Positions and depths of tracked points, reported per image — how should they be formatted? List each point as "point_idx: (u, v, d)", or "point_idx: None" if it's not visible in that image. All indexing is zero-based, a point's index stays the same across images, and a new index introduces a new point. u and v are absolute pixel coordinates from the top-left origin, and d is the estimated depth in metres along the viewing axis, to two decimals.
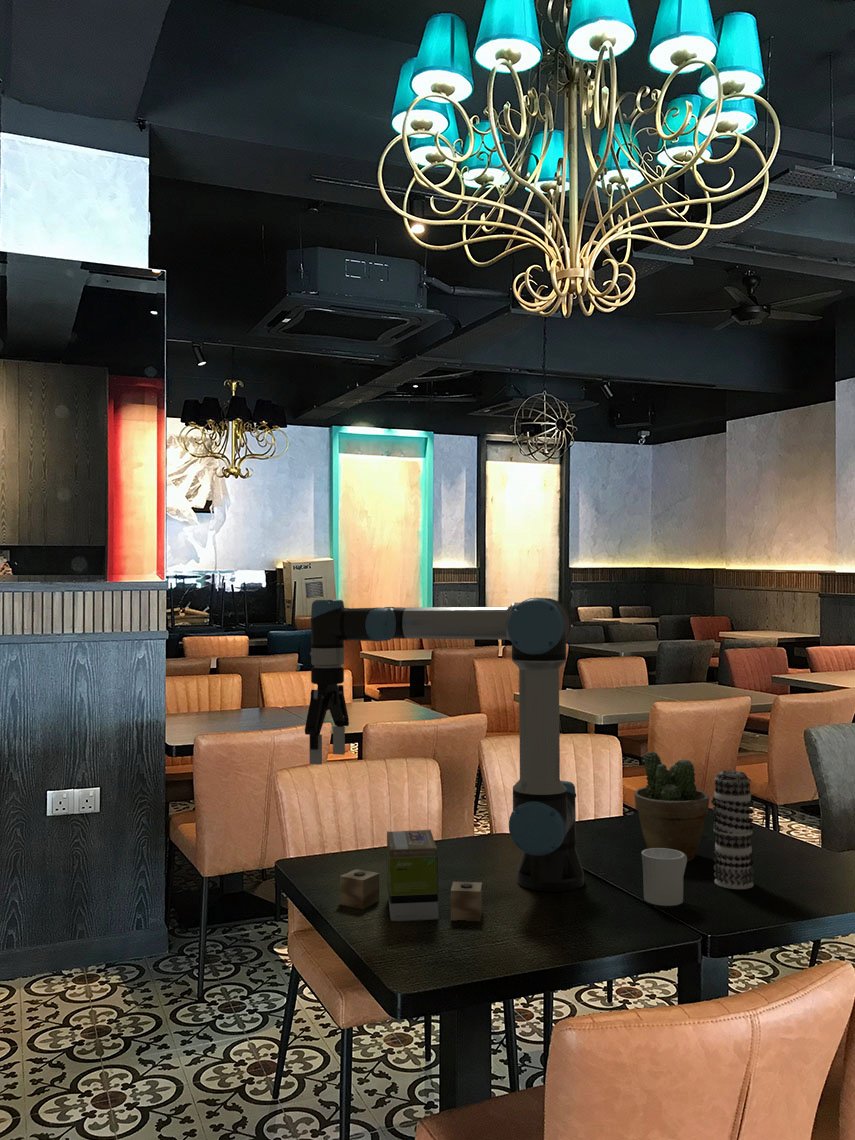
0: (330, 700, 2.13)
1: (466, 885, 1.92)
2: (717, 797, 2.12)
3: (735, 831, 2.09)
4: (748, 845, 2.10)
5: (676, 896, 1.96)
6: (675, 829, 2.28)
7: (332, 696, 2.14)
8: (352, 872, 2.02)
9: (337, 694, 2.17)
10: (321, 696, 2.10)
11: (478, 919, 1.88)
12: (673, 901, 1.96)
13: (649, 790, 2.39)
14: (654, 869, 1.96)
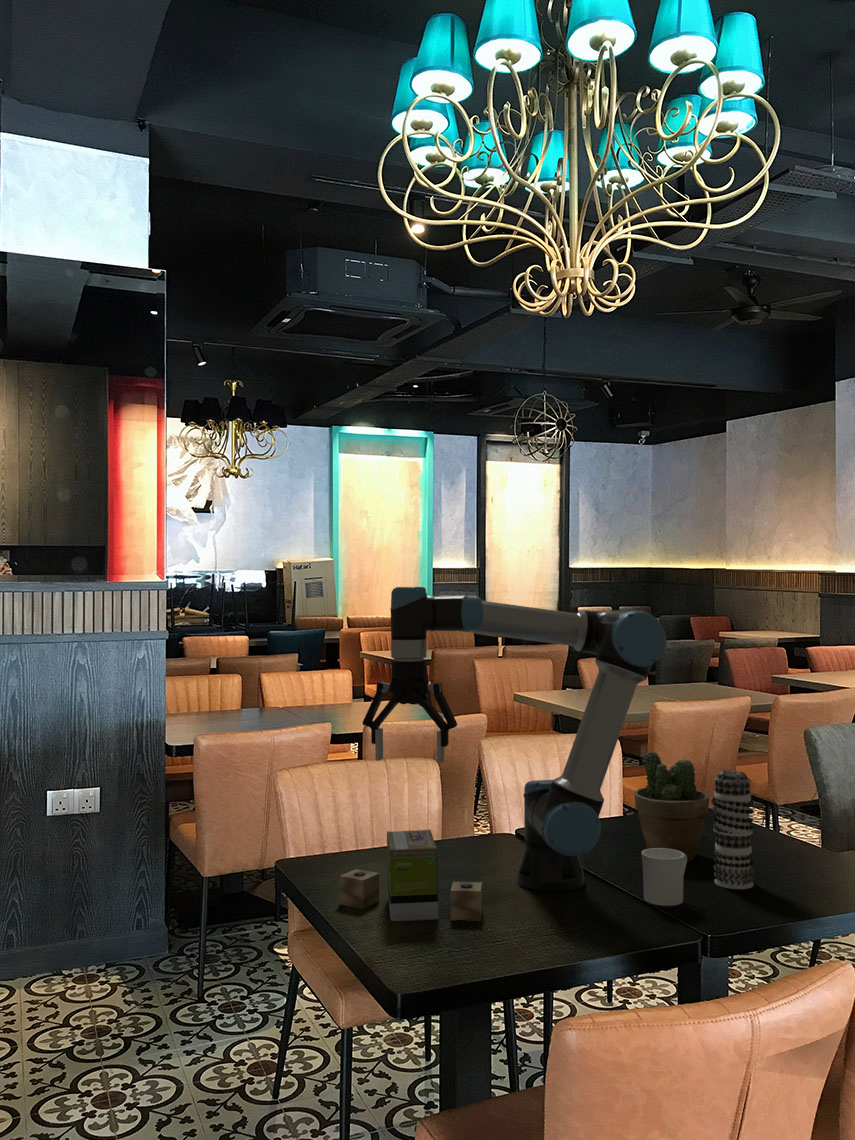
0: (396, 696, 1.97)
1: (466, 885, 1.92)
2: (717, 797, 2.12)
3: (735, 831, 2.09)
4: (748, 845, 2.10)
5: (676, 896, 1.96)
6: (675, 829, 2.28)
7: (398, 692, 1.96)
8: (352, 872, 2.02)
9: (412, 691, 1.96)
10: (378, 689, 1.98)
11: (478, 919, 1.88)
12: (673, 901, 1.96)
13: (649, 790, 2.39)
14: (654, 869, 1.96)
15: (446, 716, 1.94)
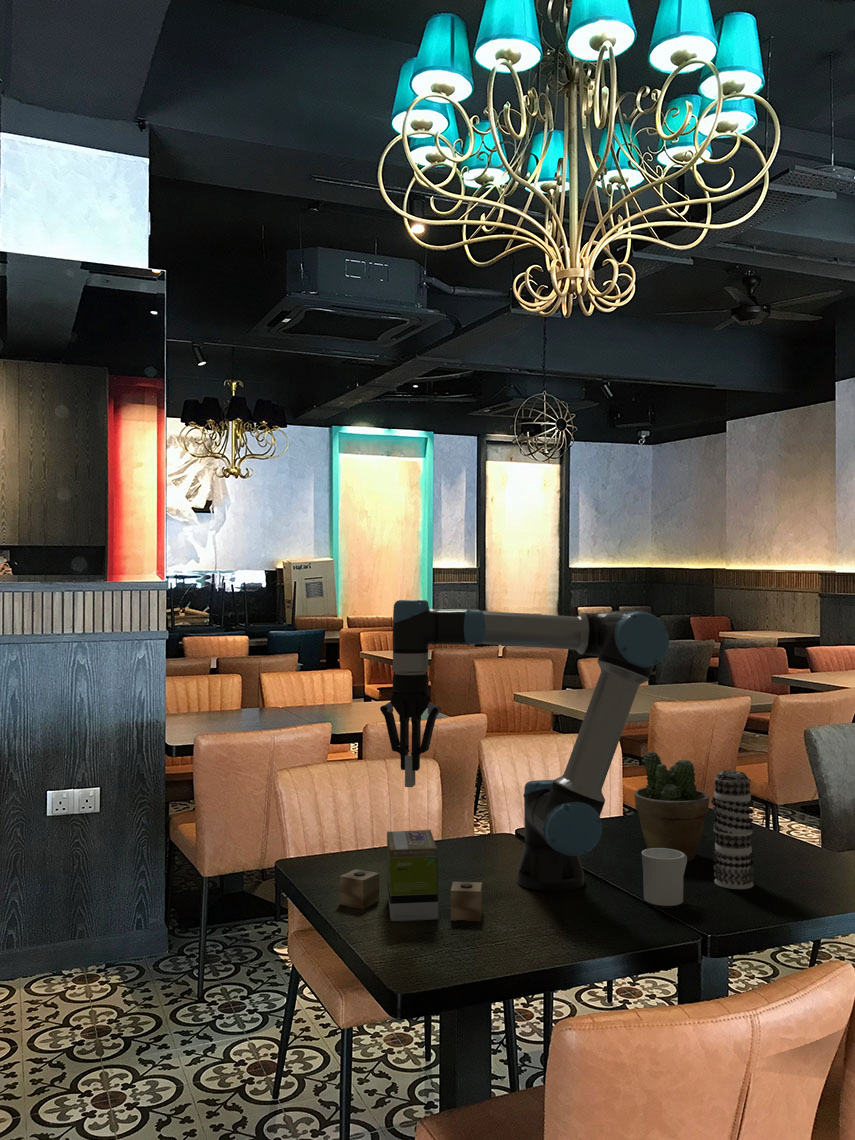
0: (401, 711, 1.96)
1: (466, 885, 1.92)
2: (717, 797, 2.12)
3: (735, 831, 2.09)
4: (748, 845, 2.10)
5: (676, 896, 1.96)
6: (675, 829, 2.28)
7: (401, 706, 1.96)
8: (352, 872, 2.02)
9: (413, 705, 1.95)
10: (384, 712, 1.97)
11: (478, 919, 1.88)
12: (673, 901, 1.96)
13: (649, 790, 2.39)
14: (654, 869, 1.96)
15: (424, 739, 1.95)
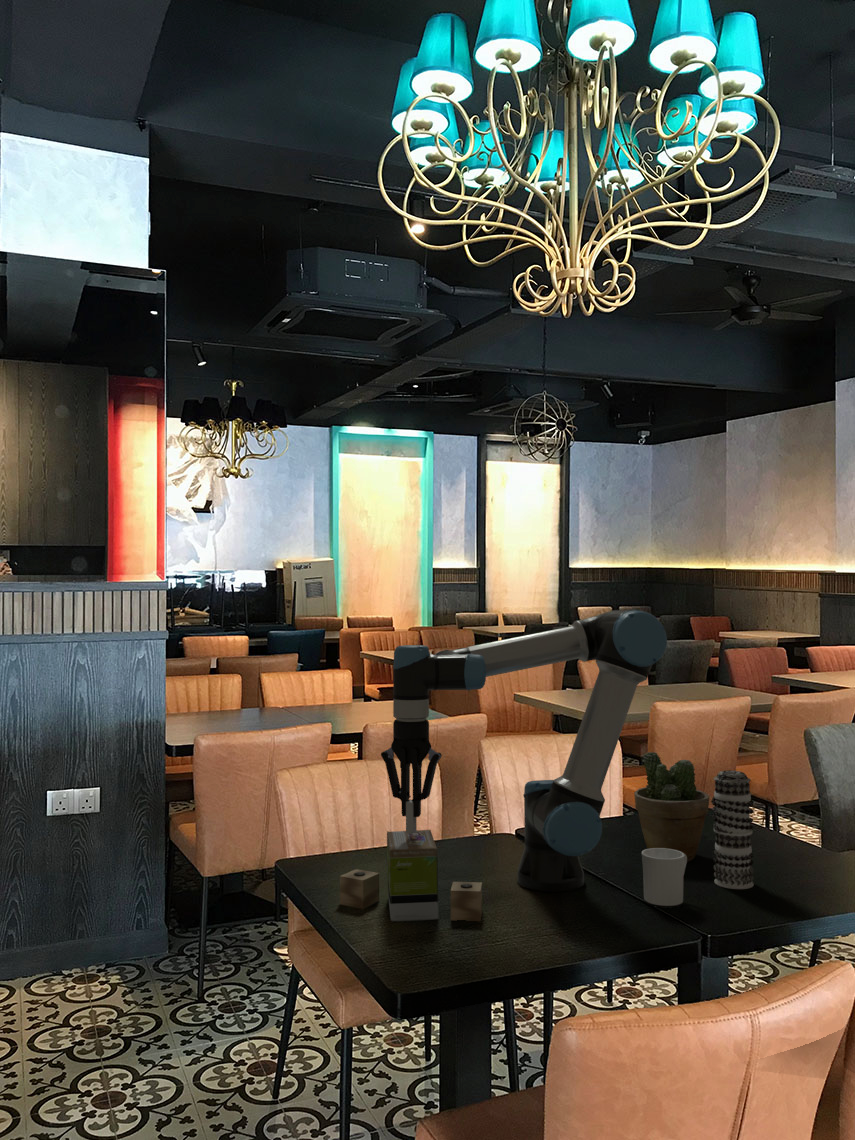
0: (402, 758, 1.96)
1: (466, 885, 1.92)
2: (717, 797, 2.12)
3: (735, 831, 2.09)
4: (748, 845, 2.10)
5: (676, 896, 1.96)
6: (675, 829, 2.28)
7: (401, 753, 1.95)
8: (352, 872, 2.02)
9: (413, 751, 1.95)
10: (385, 758, 1.97)
11: (478, 919, 1.88)
12: (673, 901, 1.96)
13: (649, 790, 2.39)
14: (654, 869, 1.96)
15: (425, 786, 1.95)
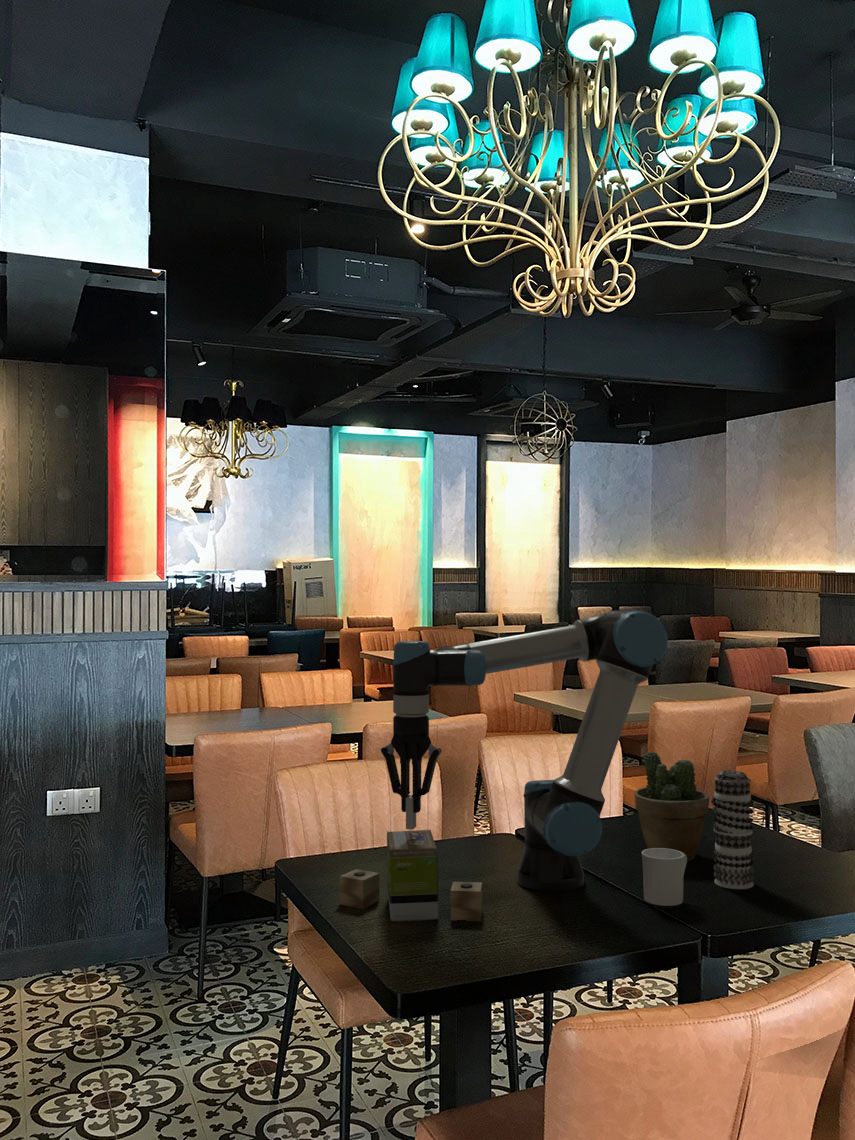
0: (402, 753, 1.96)
1: (466, 885, 1.92)
2: (717, 797, 2.12)
3: (735, 831, 2.09)
4: (748, 845, 2.10)
5: (676, 896, 1.96)
6: (675, 829, 2.28)
7: (401, 748, 1.95)
8: (352, 872, 2.02)
9: (413, 747, 1.95)
10: (385, 754, 1.97)
11: (478, 919, 1.88)
12: (673, 901, 1.96)
13: (649, 790, 2.39)
14: (654, 869, 1.96)
15: (425, 782, 1.95)
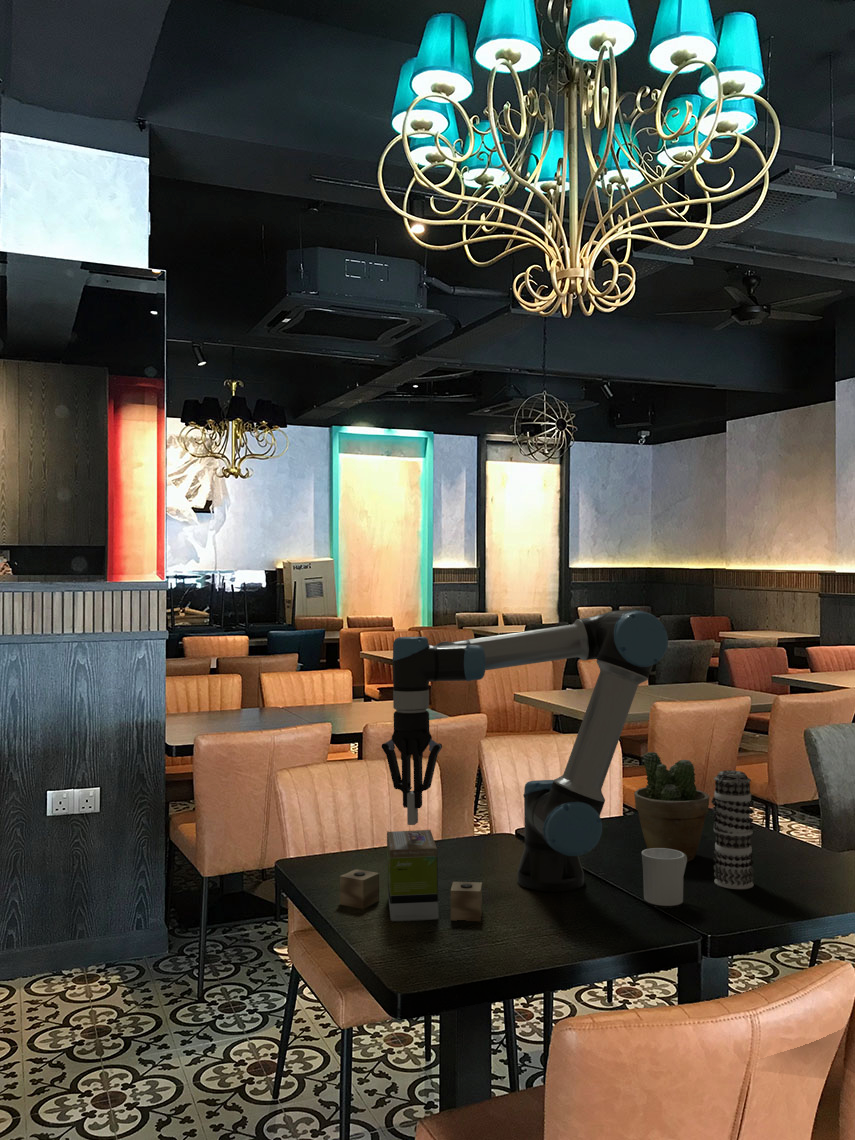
0: (403, 749, 1.96)
1: (466, 885, 1.92)
2: (717, 797, 2.12)
3: (735, 831, 2.09)
4: (748, 845, 2.10)
5: (676, 896, 1.96)
6: (675, 829, 2.28)
7: (402, 744, 1.95)
8: (352, 872, 2.02)
9: (414, 743, 1.95)
10: (386, 750, 1.97)
11: (478, 919, 1.88)
12: (673, 901, 1.96)
13: (649, 790, 2.39)
14: (654, 869, 1.96)
15: (426, 777, 1.95)
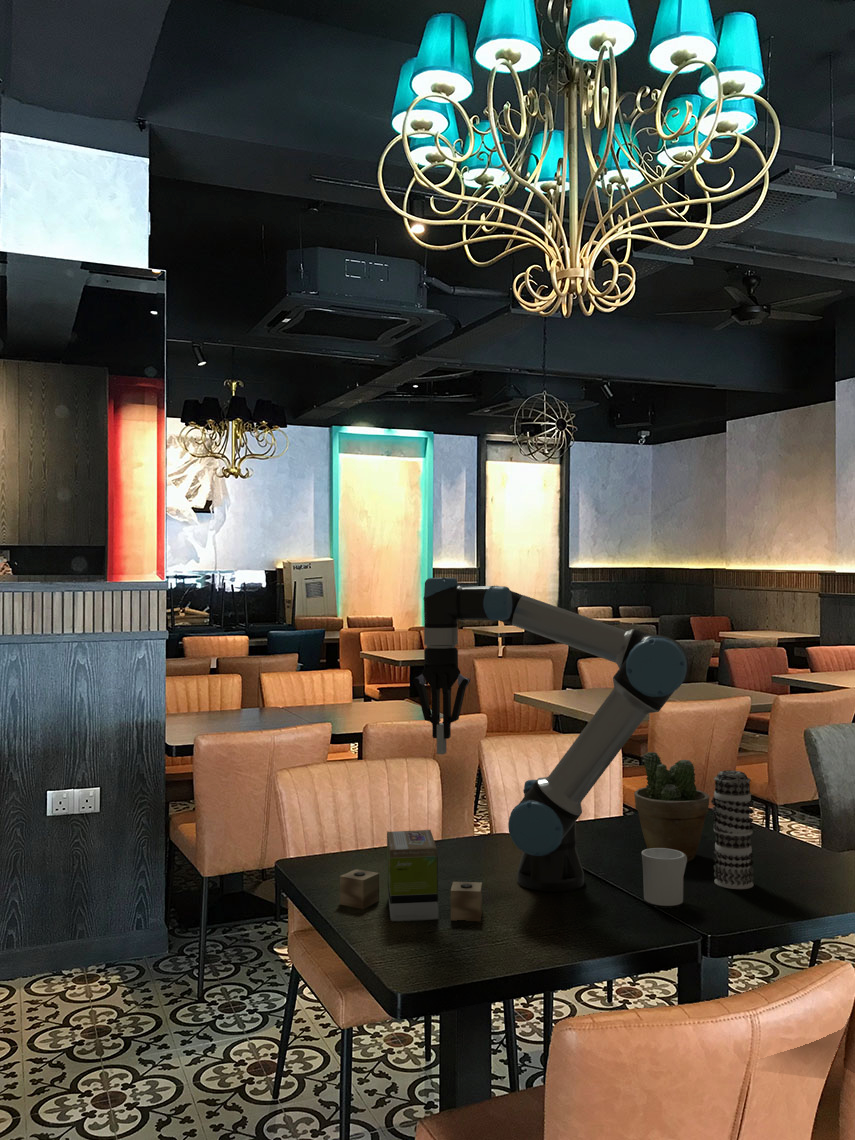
0: (433, 683, 2.08)
1: (466, 885, 1.92)
2: (717, 797, 2.12)
3: (735, 831, 2.09)
4: (748, 845, 2.10)
5: (676, 896, 1.96)
6: (675, 829, 2.28)
7: (432, 678, 2.07)
8: (352, 872, 2.02)
9: (444, 676, 2.07)
10: (417, 684, 2.09)
11: (478, 919, 1.88)
12: (673, 901, 1.96)
13: (649, 790, 2.39)
14: (654, 869, 1.96)
15: (455, 709, 2.07)
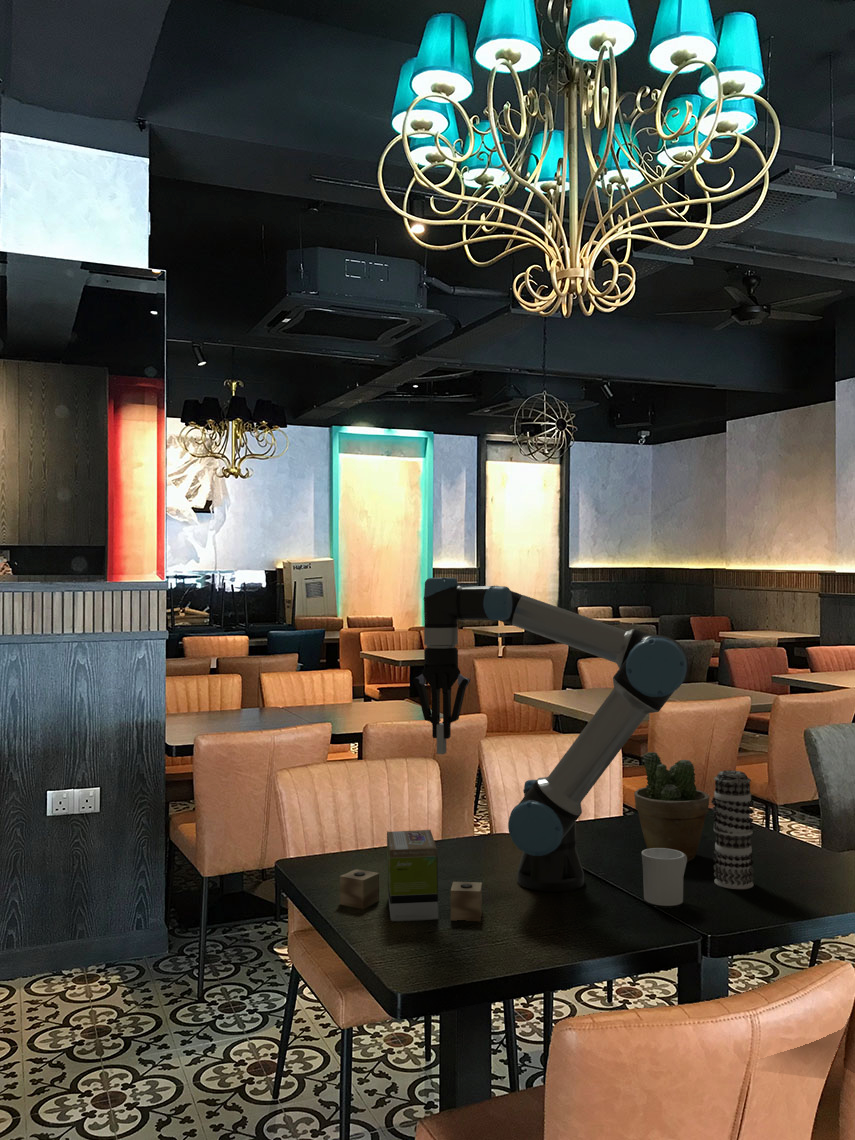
0: (433, 683, 2.08)
1: (466, 885, 1.92)
2: (717, 797, 2.12)
3: (735, 831, 2.09)
4: (748, 845, 2.10)
5: (676, 896, 1.96)
6: (675, 829, 2.28)
7: (432, 678, 2.08)
8: (352, 872, 2.02)
9: (444, 676, 2.07)
10: (417, 684, 2.09)
11: (478, 919, 1.88)
12: (673, 901, 1.96)
13: (649, 790, 2.39)
14: (654, 869, 1.96)
15: (455, 709, 2.07)
